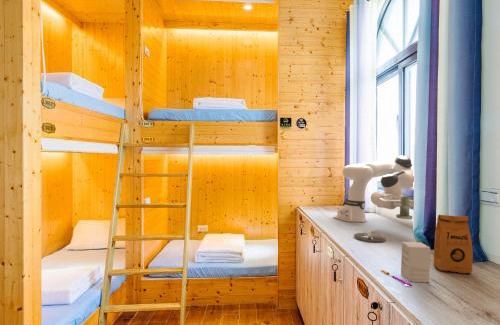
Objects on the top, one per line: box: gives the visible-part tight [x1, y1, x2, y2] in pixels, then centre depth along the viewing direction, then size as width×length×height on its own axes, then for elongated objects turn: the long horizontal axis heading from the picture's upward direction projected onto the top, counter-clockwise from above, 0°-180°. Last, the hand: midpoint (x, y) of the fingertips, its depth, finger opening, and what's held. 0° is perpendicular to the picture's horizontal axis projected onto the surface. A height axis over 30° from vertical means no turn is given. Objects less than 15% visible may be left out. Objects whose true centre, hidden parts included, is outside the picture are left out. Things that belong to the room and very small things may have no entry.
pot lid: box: [353, 230, 387, 244], centre depth 174 cm, size 16×16×5 cm
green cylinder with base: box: [395, 195, 413, 220], centre depth 175 cm, size 8×8×12 cm
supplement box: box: [400, 241, 431, 283], centre depth 117 cm, size 7×7×13 cm
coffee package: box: [433, 214, 474, 274], centre depth 127 cm, size 10×12×22 cm
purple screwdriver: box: [380, 269, 413, 287], centre depth 117 cm, size 3×1×16 cm
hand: (405, 205), depth 174 cm, fingers closed on green cylinder with base, 5 cm apart
